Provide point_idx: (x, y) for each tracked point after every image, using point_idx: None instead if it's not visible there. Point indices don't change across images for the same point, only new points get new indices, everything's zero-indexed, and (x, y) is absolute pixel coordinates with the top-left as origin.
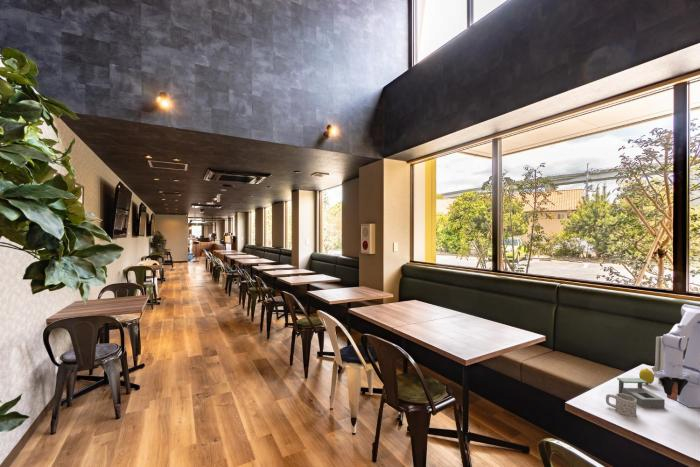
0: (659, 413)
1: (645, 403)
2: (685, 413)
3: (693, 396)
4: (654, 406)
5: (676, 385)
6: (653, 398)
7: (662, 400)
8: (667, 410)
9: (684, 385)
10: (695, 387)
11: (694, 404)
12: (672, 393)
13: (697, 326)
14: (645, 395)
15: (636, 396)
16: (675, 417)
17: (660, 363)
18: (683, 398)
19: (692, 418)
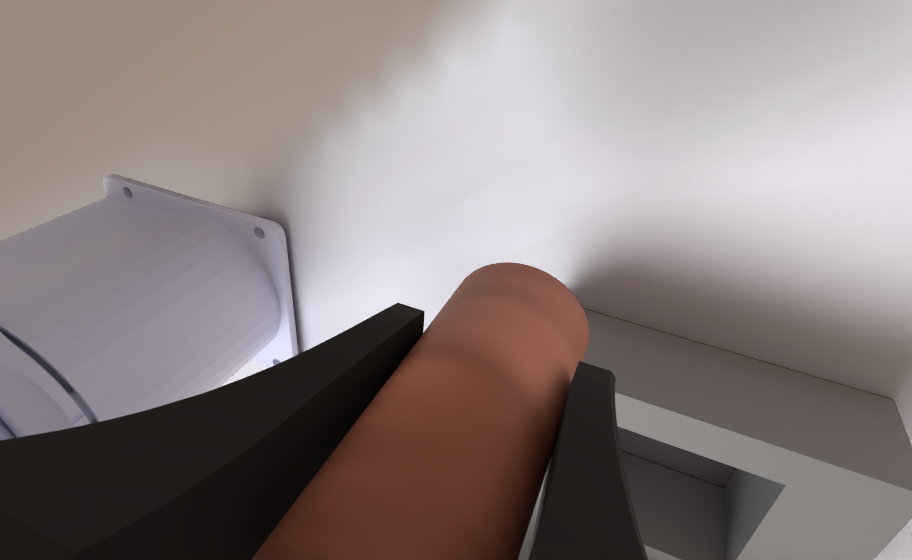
0: (837, 233)
1: (841, 421)
2: (437, 151)
3: (146, 277)
4: (692, 348)
5: (373, 511)
6: (667, 433)
7: None
8: (596, 252)
9: (159, 416)
10: (13, 335)
11: (210, 229)
12: (544, 376)
13: None
14: None
15: (873, 552)
16: (711, 99)
17: None
18: (242, 312)
19: (474, 37)
